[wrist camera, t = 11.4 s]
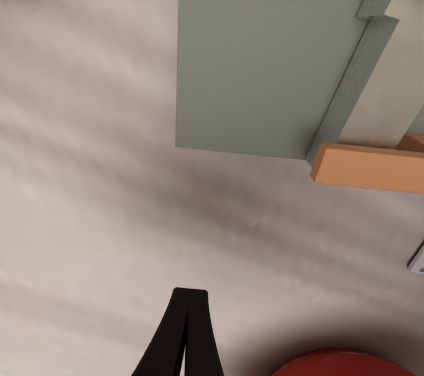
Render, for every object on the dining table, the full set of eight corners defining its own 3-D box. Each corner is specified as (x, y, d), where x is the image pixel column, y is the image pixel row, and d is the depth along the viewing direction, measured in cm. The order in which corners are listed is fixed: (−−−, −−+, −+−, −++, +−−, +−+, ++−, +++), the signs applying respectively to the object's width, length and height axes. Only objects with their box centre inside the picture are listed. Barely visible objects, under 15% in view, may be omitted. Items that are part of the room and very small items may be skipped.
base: (546, -119, 11) (817, -244, 6) (399, 163, 17) (467, 214, 13) (186, -164, 10) (154, -336, 6) (177, 140, 17) (160, 184, 12)
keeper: (427, 134, 15) (497, 170, 11) (412, 161, 16) (472, 203, 12) (302, 121, 15) (330, 152, 11) (294, 149, 16) (317, 188, 12)
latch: (414, -114, 10) (465, -153, 8) (511, -79, 10) (585, -107, 8) (294, 155, 16) (305, 174, 14) (359, 171, 17) (379, 192, 14)
